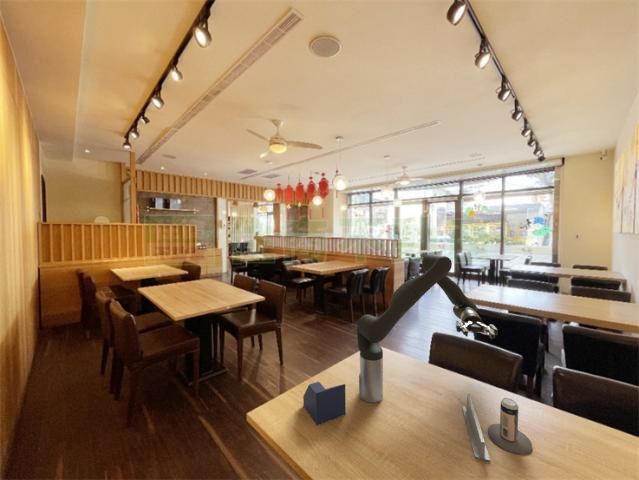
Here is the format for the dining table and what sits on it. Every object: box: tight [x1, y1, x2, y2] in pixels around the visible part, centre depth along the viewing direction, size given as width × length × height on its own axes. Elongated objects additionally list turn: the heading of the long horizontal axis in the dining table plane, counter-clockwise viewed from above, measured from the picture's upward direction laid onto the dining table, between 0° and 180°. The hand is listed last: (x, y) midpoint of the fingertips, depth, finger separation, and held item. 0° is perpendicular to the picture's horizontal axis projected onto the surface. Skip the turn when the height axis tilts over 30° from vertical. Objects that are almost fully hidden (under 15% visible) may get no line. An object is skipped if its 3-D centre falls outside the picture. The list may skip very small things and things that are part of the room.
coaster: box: [486, 423, 533, 455], centre depth 90 cm, size 12×12×1 cm
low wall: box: [461, 393, 491, 464], centre depth 93 cm, size 4×24×6 cm, turn 161°
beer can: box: [499, 397, 519, 441], centre depth 90 cm, size 5×5×12 cm
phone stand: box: [302, 381, 347, 426], centre depth 105 cm, size 12×12×12 cm
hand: (479, 335), depth 105 cm, fingers open, 8 cm apart
